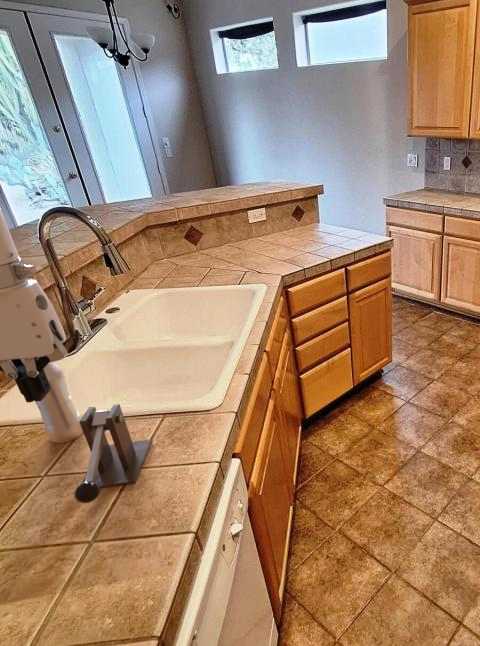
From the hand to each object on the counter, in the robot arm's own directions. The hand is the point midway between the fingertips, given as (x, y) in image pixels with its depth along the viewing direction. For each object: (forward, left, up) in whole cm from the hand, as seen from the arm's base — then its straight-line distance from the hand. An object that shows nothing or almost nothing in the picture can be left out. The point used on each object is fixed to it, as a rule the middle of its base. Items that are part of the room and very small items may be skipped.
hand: (38, 396), depth 63 cm
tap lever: (+2, +5, -17) cm, 17 cm away
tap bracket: (+2, +10, -23) cm, 25 cm away
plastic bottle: (-11, +22, -23) cm, 34 cm away
